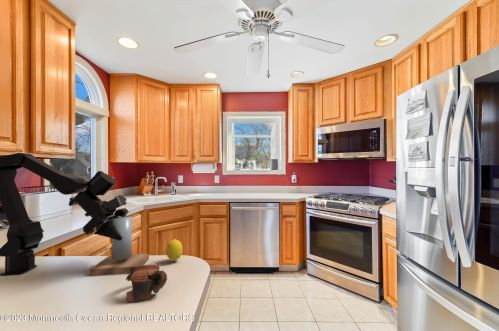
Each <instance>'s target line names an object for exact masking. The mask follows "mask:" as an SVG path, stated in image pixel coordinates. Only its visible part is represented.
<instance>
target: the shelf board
mask: <svg viewBox="0 0 499 331" xmlns="http://www.w3.org/2000/svg"><path fill="white" fill-rule="evenodd" d="M149 255H150V254H149V253H139V254H138V253H137V254H136V253H134V254H132V256H131V257H129V258H126V259H122V260H113V259H112V255H107V257H104V258H103V259H102V260H101V261H99V262H98V263H97V264H95V265H94V266H93V267H92V268H90V269H89V276H90V277H93V276H106V275H120V274H121V275H123V274H130V273H131V270H130V269H131V268H133V267H137V266H142V265H146V263H147V262H148V261H149V260H150V256H149Z"/></svg>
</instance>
